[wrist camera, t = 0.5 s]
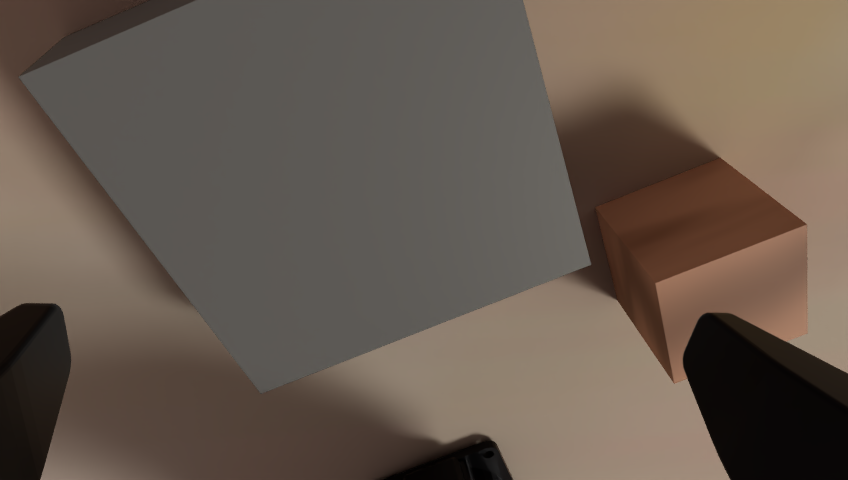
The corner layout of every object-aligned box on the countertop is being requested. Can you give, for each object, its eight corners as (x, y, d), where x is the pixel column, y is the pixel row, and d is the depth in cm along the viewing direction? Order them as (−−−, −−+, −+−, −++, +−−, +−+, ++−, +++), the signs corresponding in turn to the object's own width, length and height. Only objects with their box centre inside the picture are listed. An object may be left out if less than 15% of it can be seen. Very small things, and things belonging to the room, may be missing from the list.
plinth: (555, 212, 24) (591, 264, 21) (265, 327, 25) (260, 394, 22) (458, -134, 17) (490, -127, 14) (63, 37, 18) (18, 76, 15)
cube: (728, 255, 27) (807, 333, 23) (616, 299, 27) (674, 383, 23) (718, 156, 24) (807, 224, 20) (594, 206, 24) (655, 283, 20)
